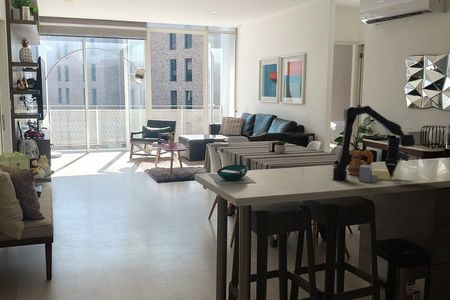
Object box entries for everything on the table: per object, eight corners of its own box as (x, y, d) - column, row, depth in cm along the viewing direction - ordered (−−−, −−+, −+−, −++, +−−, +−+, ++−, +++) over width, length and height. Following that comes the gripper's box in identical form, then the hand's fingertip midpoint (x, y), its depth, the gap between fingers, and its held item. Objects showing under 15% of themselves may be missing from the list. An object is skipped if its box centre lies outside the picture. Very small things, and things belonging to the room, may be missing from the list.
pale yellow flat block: (373, 179, 245) (373, 170, 244) (374, 178, 247) (374, 169, 246) (394, 180, 240) (394, 171, 239) (395, 179, 242) (395, 170, 241)
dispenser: (359, 181, 238) (359, 166, 237) (361, 178, 245) (362, 164, 244) (375, 182, 234) (376, 167, 233) (377, 179, 241) (378, 165, 240)
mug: (344, 174, 258) (345, 149, 256) (348, 172, 265) (348, 147, 263) (370, 176, 251) (371, 150, 249) (373, 174, 258) (374, 148, 256)
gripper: (408, 149, 228) (407, 179, 229) (410, 145, 244) (409, 173, 246) (385, 148, 232) (384, 177, 234) (389, 145, 249) (388, 172, 251)
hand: (392, 175), depth 241 cm, fingers open, 9 cm apart
